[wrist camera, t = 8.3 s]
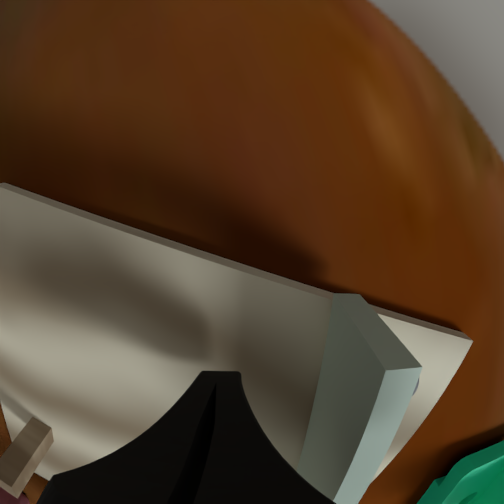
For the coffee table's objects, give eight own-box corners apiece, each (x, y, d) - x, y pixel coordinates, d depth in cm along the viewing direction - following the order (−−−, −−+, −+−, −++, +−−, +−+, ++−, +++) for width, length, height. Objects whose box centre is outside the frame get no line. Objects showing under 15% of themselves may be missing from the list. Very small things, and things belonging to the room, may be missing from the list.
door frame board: (296, 538, 17) (301, 595, 11) (24, 455, 16) (-8, 503, 9) (462, 332, 13) (539, 400, 6) (5, 182, 11) (-97, 196, 5)
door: (282, 511, 14) (287, 575, 9) (331, 292, 11) (385, 372, 6) (316, 509, 14) (326, 571, 9) (386, 293, 11) (461, 363, 6)
